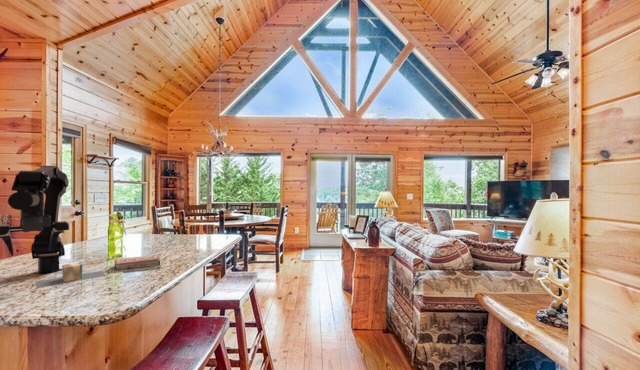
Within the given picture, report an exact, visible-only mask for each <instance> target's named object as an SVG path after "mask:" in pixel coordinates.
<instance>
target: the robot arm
mask: <svg viewBox="0 0 640 370" xmlns="http://www.w3.org/2000/svg"><path fill="white" fill-rule="evenodd" d="M69 184H70V183H69V178H68V176H67V174H66V173H65V172H63V171H62V170H60V168H59V167H58V166H57V165H43V166H40V167H39V168H36V169H34V170H20V171H19V172H18V173H16V175H15V178H14V181H13V183H12V187H11V192H13V191H14V193H12V194H11V195H10V196H9V197H8V199H7V204H8V205H9V207H10V208H12V209H14V210H18V211H20V221H19V226H17V225H16V226H10V224H0V239H2V240H3V242H4V244H5V245H6V246H7V249H8V251H9V253H10V256H12V257H13V256H14V247H13V242H12V237H11V236H12V235H11V233H17V232H18V233H19V232H23V233H30V232H38V234H37V233H36V234H35V236H34V238H33V242H32V244H31V248H30V249H31V251H30V252H31V257H32V260H34V259H35V260H36V259H37V261H38V262H37V271H34V272H33V274H35V275H36V274H37V275H49V274H52V273H57V272H61V271H63V268H60V258H61V257H63V256H66V255H65V254H66V250H65V246H64V244H63V241H62V237H61V236H60V234H64V233H65V231H69V230H70V223H69V222H67V221H66V220H63V221H62V220H61V221H58V220H59V212H60V201H61V197H62V196H64V194H66V192H67V189H68V187H69V186H70V185H69ZM15 191H16V192H15Z"/></svg>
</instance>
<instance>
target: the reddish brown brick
mask: <svg viewBox="0 0 640 370" xmlns="http://www.w3.org/2000/svg"><path fill="white" fill-rule="evenodd" d="M161 266H162V265H161V257H160V255H159V254H158V255H157V254H156V255H145V256H143V255H142V256H132V257H131V256H130V257H121V258H119V257H118V258H115V259H114V264H112V265H111V266H110V269H109V271H108V274H112V273H131V272H140V271H147V270H155V269H161Z"/></svg>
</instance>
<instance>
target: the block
mask: <svg viewBox="0 0 640 370" xmlns="http://www.w3.org/2000/svg"><path fill="white" fill-rule="evenodd" d="M62 269H63V270H62V275H61V277H62V279H63V281H64V282H65V281H71V280H77V279H82V274H83V264H82V262H72V263H68V264H67V263H66V264H62Z"/></svg>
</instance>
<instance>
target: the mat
mask: <svg viewBox="0 0 640 370" xmlns="http://www.w3.org/2000/svg"><path fill="white" fill-rule="evenodd" d="M106 276H107V274H106V273H105V272H104V271H102V270H99V271H98V270H97V271H93V272H86V273H82V279H77V280H71V281H65V282H64V281H63V279H62V276H61V277H55V278H50V279H44V280H36V281H35V284H36V289H40V288H45V287H51V286H57V285H63V284H69V283H74V282H80V281H84V280H90V279H95V278H101V277H106Z"/></svg>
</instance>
